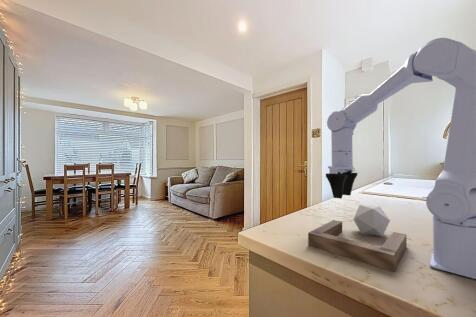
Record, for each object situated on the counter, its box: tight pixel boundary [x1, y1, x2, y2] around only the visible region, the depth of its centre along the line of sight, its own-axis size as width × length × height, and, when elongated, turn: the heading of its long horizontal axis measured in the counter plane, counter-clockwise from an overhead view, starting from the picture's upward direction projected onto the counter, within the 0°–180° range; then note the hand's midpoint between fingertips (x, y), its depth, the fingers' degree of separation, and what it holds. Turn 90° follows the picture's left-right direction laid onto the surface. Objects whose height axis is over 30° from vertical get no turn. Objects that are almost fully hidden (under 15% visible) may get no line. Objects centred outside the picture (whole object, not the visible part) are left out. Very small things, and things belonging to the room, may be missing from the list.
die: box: [353, 204, 391, 237], centre depth 59 cm, size 8×9×10 cm
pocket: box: [307, 219, 408, 272], centre depth 50 cm, size 17×16×3 cm
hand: (342, 196), depth 63 cm, fingers open, 7 cm apart
